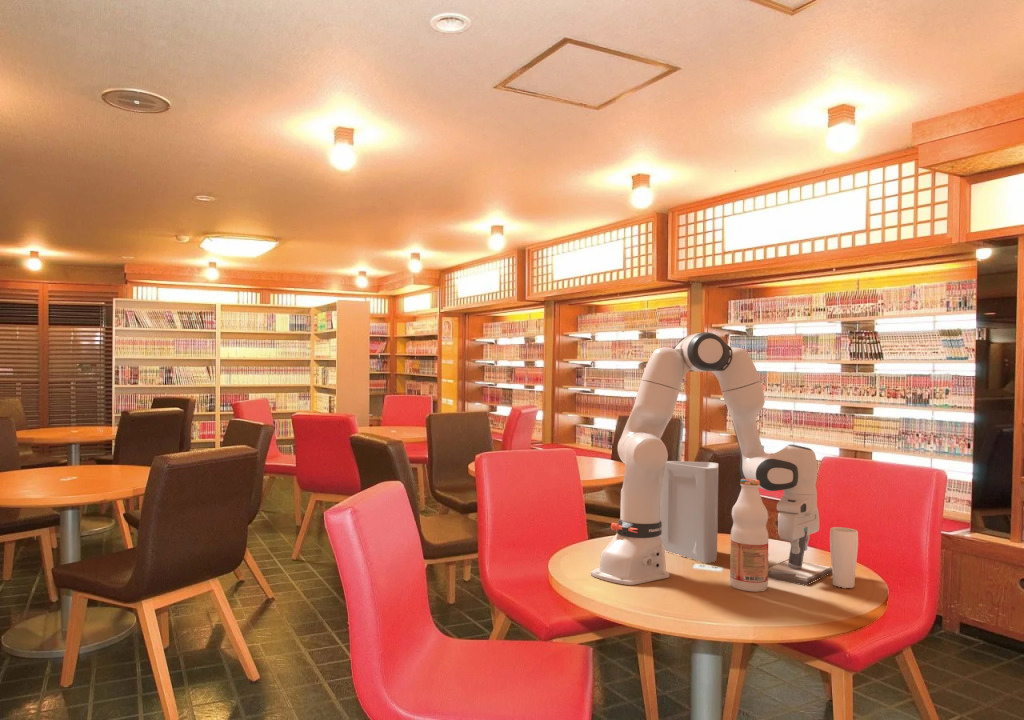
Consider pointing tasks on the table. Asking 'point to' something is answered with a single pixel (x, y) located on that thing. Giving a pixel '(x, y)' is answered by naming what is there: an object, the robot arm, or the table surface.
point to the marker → (797, 559)
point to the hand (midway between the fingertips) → (799, 552)
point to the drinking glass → (843, 556)
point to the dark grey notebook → (798, 572)
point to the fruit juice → (749, 540)
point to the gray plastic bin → (690, 509)
